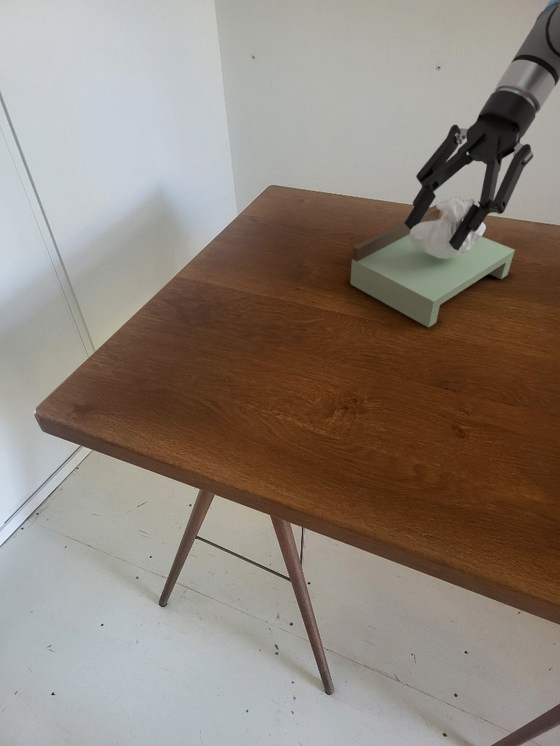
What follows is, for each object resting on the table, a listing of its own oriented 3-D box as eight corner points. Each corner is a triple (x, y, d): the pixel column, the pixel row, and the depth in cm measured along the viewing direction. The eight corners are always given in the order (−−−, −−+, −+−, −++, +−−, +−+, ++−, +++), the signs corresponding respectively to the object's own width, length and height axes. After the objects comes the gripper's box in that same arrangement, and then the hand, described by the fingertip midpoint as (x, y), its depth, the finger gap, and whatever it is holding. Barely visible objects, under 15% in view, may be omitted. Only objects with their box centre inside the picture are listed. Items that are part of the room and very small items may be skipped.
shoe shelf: (507, 275, 91) (519, 236, 86) (428, 327, 81) (436, 288, 76) (429, 240, 101) (435, 204, 96) (350, 284, 91) (352, 246, 86)
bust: (407, 267, 88) (420, 239, 77) (403, 225, 89) (416, 192, 78) (479, 263, 87) (503, 234, 76) (474, 221, 88) (498, 186, 77)
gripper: (584, 133, 76) (493, 270, 79) (463, 104, 88) (389, 224, 91) (578, 102, 70) (481, 251, 73) (449, 75, 82) (371, 205, 85)
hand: (430, 236), depth 82 cm, fingers closed on bust, 8 cm apart
